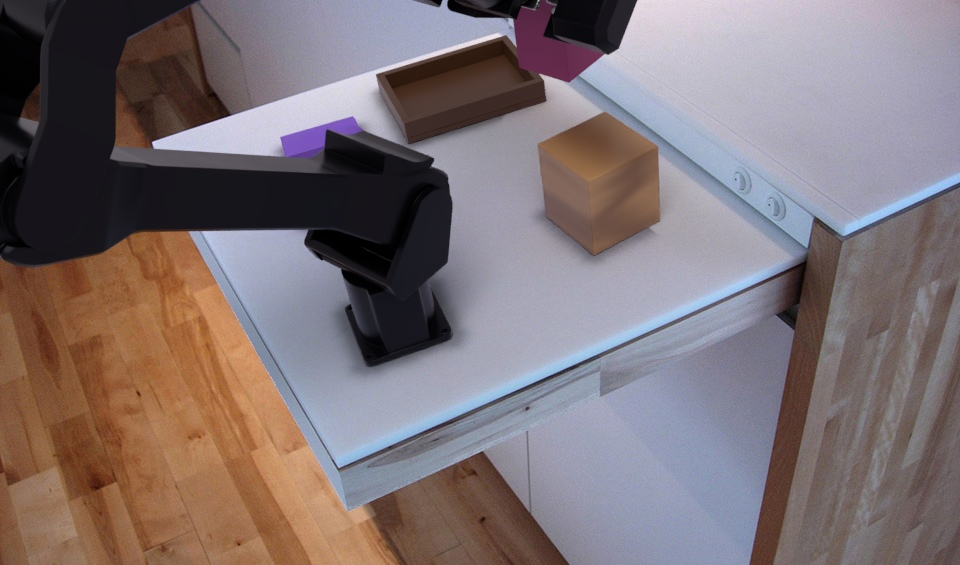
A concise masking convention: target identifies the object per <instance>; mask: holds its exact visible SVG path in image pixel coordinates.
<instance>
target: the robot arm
mask: <svg viewBox="0 0 960 565" xmlns="http://www.w3.org/2000/svg"><path fill="white" fill-rule="evenodd" d="M201 1H202V0H0V259H1V260H2V261H4V262H6V263H9V264H11V265H13V266H16V267H22V268H29V269H30V268H31V269H34V268H42V267H48V266H52V265H58V264H62V263H67V262H72V261H76V260H80V259H85V258H90V257H95V256H99V255H102V254H104V253H105V252H107V251H109V250H110V249H112V248H113V247H115V246H116V245H118V244H119V243H121V242H122V241H124V240H125V239H127V238H128V237H130V236H132V235H134V234H141V233H168V232H169V233H170V232H173V233H174V232H177V233H178V232H237V231H238V232H240V231H243V232H246V231H252V232H253V231H307V232H306V234H305V237H304V240H303V244H304V246H305V248H306V249H307V250H308V251H309V252H310V253H311V254H312V256H314V257H315V258H316V259H317V260H319V261H324V262H326V263H328V264H330V265H332V266H334V267H336V268H338V269H339V270H340V272H341V276H342V278H343V279H342V280H343V283H344V286H345V289H346V293H347V296H348V299H349V304H347V305H346V306H345V308H344V311H345V314H346V317H347V320H348V322H349V325H350V328H351V331H352V333H353V336H354V338H355V341H356V344H357V346H358V349H359V351H360V354H361V357H362V359H363V362H364V364H365V365H366V366H369V367H372V366H375V365H378V364H382V363H384V362H387V361H391V360H392V359H396V358H398V357H402V356H404V355H406V354H407V355H408V354H410V353H412V352H413V353H414V352H416V351H419V350H421V349H424V348H427V347H429V346H433V345H435V344H438V343H441V342H444V341H447V340H449V339H451V338H452V336H453V330H452V328H451V325H450V324H449V322H448V319H447V317H446V315H445V313H444V311H443V309H442V307H441V305H440V303H439V300H438V299H437V296H436V295H435V293H434V291H433V288H432V287H431V284H430V279H431V278H432V277H433V276H434V275H436V274H437V273H438V272H439V271H440V270H442V269H443V267H445V266H446V265H447V264H448V262H449V256H450V254H449V253H450V245H451V244H450V242H451V230H452V220H453V208H454V207H453V204H454V202H453V197H452V195H451V188H450V187H451V186H450V183H449V175H448V174H447V172H445V171H444V170H442V169H440V168H437V167H435V166H432V165H433V164H434V162H435V158H434V157H433V156H431V155H428V154H426V153H423V152H420V151H418V150H416V149H413V148H410V147H407V146H405V145H402V144H399V143H397V142H394V141H392V140H389V139H386V138H384V137H382V136H379V135H376V134H373V133H371V132H369V131H365V130H364V131H360V132H358V133H355V134H348V135H346V134H341V133H338V132H335V131H333V130H330V129H326V135H325V146H324V149H323V150H321V151H320V152H319V153H318V154H316V155H315V156H314V157H310V158H296V157H285V156H279V155H278V156H276V155H263V154H248V153H247V154H246V153H245V154H244V153H232V152H231V153H230V152H214V151H197V150H183V149H182V150H180V149H164V148H149V147H148V148H147V147H136V146H135V147H133V146H119V145H118V146H117V145H116V139H117V69H118V67H119V64H120V61H121V58H122V56H123V53H124V49H125V47H126V44H127V42H128V41H129V40H131V39H132V38H134V37H136V36H138V35H139V34H142V33H143V32H145V31H147V30H149V29H150V28H152V27H155V26H157V25H158V24H160V23H162V22H164V21H166V20H168V19H169V18H171V17H173V16H175V15H177V14H179V13H181V12H182V11H184V10H186V9H188V8H190V7H192V6H194V5H195V4H197V3H199V2H201ZM412 1H414V2H417V3H421V4H424V5H427V6H431V7H435V8H440V7H441V6H442V4H443V1H444V0H412ZM546 2H547V3H548V4H550V5H552V6H554V7H552V8H551V11H550V12H551V16H550V18H549V21H548V24H547V26H546V29H545V32H544V34H543V37H546V38H549V39H553V40H556V41H560V42H564V43H567V44H571V45H575V46H578V47H582V48H585V49H589V50H592V51H596V52H600V53H603V54H604V55H607V56H609V55H611V54H612V53H615V52H616V51H618V50H619V49H620V47H621V44H622V41H623V39H624V36H625V34H626V31H627V29H628V26H629V24H630V21H631V18H632V16H633V13H634V10H635V8H636V5H637V4H638V0H546ZM540 3H541V0H447V1H446V7H447V9H448V10H449V11H450V12H452V13H457V14H460V15H464V16H467V17H470V18H474V19H512V20H513V19H514V20H517V17H518V14H519V12H520V9H521V7H523V8H527V9H531V10H537V9H538V8H539V6H540ZM38 86H39V113H38V114H39V116H38V121H36V120H32V119H28V118H25V117H22V113H23V110H24V107H25V105H26V102H27V100H28V99H29V98H30V96H31V95H32V94H33V93H34V91H35V90H36V89H37V87H38Z"/></svg>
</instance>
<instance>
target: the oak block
mask: <svg viewBox="0 0 960 565" xmlns="http://www.w3.org/2000/svg"><path fill="white" fill-rule="evenodd" d="M537 151H538V160H539V169H540V177H541V185H542V193H543V202H544V203H543V204H544V211H545V217H546V218H547V219H548V220H550V221H551V222H552V223H553V224H555V225H556V226H557V227H558V228H560V229H561V230H562V231H563V232H565V233H566V234H567V235H568V236H569V237H570V238H572V239H573V240H574V241H575V242H576V243H578V244H579V245H580V246H581V247H582V248H583V249H585V250H586V251H587V252H589V253H590V254H591V255H592V256H597V255H599V254H600V253H602V252H604V251H606V250H608V249H609V248H611V247H613V246H615V245H617V244H620V243H621V242H623V241H625V240H627V239H628V238H630V237H632V236H634V235H636V234H638V233H640V232H642V231H643V230H646V229H647V228H649V227H651V226H653V225H654V224H657V223H658V222H660V221H661V209H660V208H661V202H660V201H661V200H660V197H661V196H660V168H659V167H660V164H659V162H660V160H659V159H660V157H659V146H658V144H656V143H654V142H653V141H651V140H650V139H648V138H647V137H646V136H644V135H643V134H640V133H639V132H638V131H636V130H635V129H633V128H632V127H630V126H629V125H627V124H626V123H624V122H622V121H621V120H619V119H618V118H616V117H615V116H613V115H612V114H610V113H609V112H607V111H603V112H600V113H599V114H597V115H595V116H592V117H591V118H588V119H587V120H584V121H582V122H580V123H578V124H576V125H573V126H572V127H570V128H567V129H566V130H564V131H562V132H559V133H557V134H555V135H553V136H551V137H549V138H546V139H545V140H543V141H540V142H539V143H537Z"/></svg>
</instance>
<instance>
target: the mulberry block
mask: <svg viewBox="0 0 960 565" xmlns="http://www.w3.org/2000/svg"><path fill="white" fill-rule="evenodd" d="M552 7H554V6H552V5H550V4H548V3H547V2H546V0H541V3H540V6H539V8H538V9H537V10H531V9H527V8H523V7H521V9H520V12H519V14H518V17H517V20H514V19H512V21H513V22H512V23H513V30H514V38H515V46H516V47H517V54H518V62H519V68H522V69H525V70H529V71H532V72H535V73H538V74H539V75H542V76H546V77H548V78H551V79H555V80H558V81H562V82H566V83H569V84H570V83H571V82H573V80H575V79H576V78H577V77H578V76H579V75H581V74H582V73H583V72H585V71H586V70H587V69H588V68H590V67H591V66H592V65H593V64H595V63H596V62H597V61H598V60H599V59H600V58H602V57H604V55H605V54H603V53H600V52H596V51H592V50H589V49H585V48H582V47H578V46H575V45H571V44H567V43H564V42H560V41H556V40H553V39H549V38H546V37H543V34H544V32H545V29H546V26H547V24H548V21H549V18H550V16H551V12H550V11H551V8H552Z"/></svg>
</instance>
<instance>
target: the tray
mask: <svg viewBox="0 0 960 565" xmlns="http://www.w3.org/2000/svg"><path fill="white" fill-rule="evenodd" d="M375 77H376V82H377V86H378V90H379V94H380V96H381V98H382V99H383V101H384V103H385V105H386V108H388V110H389V112H390V114H391V115H392V118H393V119H394V121H395V123H396V125H397V126H398V128H399V129H400V131H401V134H402V135H403V137H404V138H405V140H406V142H407V144H409V145H410V144H413V143H416V142H419V141H422V140H425V139H429V138H431V137H435V136H438V135H441V134H444V133H447V132H451V131H454V130H457V129H460V128H463V127H467V126H470V125H473V124H477V123H479V122H484V121H486V120H490V119H492V118H496V117H499V116H501V115H502V116H503V115H505V114H509V113H511V112H515V111H518V110H522V109H525V108H528V107H531V106H534V105H537V104H541V103H543V102H547V95H546V93H547V92H546V86H545V80H544V78H543V77H542V76H541V74H539V73H535V72H532V71H529V70H525V69H522V68H519V62H518V54H517V47H516V44H515V43H514V42H513V41H512V40H511V39H510V38H509V36H508V35H505V34H504V35H501V36H498V37H495V38H491V39H489V40H488V39H487V40H485V41H481V42H478V43H474V44H472V45H468V46H465V47H461V48H457V49H455V50H452V51H448V52H445V53H441V54H439V55H435V56H432V57H428V58H425V59H421V60H418V61H416V62H412V63H409V64H405V65H401V66H399V67H394V68H392V69H391V68H390V69H388V70H385V71H381V72H379V73H378V72H377V73H376V74H375Z"/></svg>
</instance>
